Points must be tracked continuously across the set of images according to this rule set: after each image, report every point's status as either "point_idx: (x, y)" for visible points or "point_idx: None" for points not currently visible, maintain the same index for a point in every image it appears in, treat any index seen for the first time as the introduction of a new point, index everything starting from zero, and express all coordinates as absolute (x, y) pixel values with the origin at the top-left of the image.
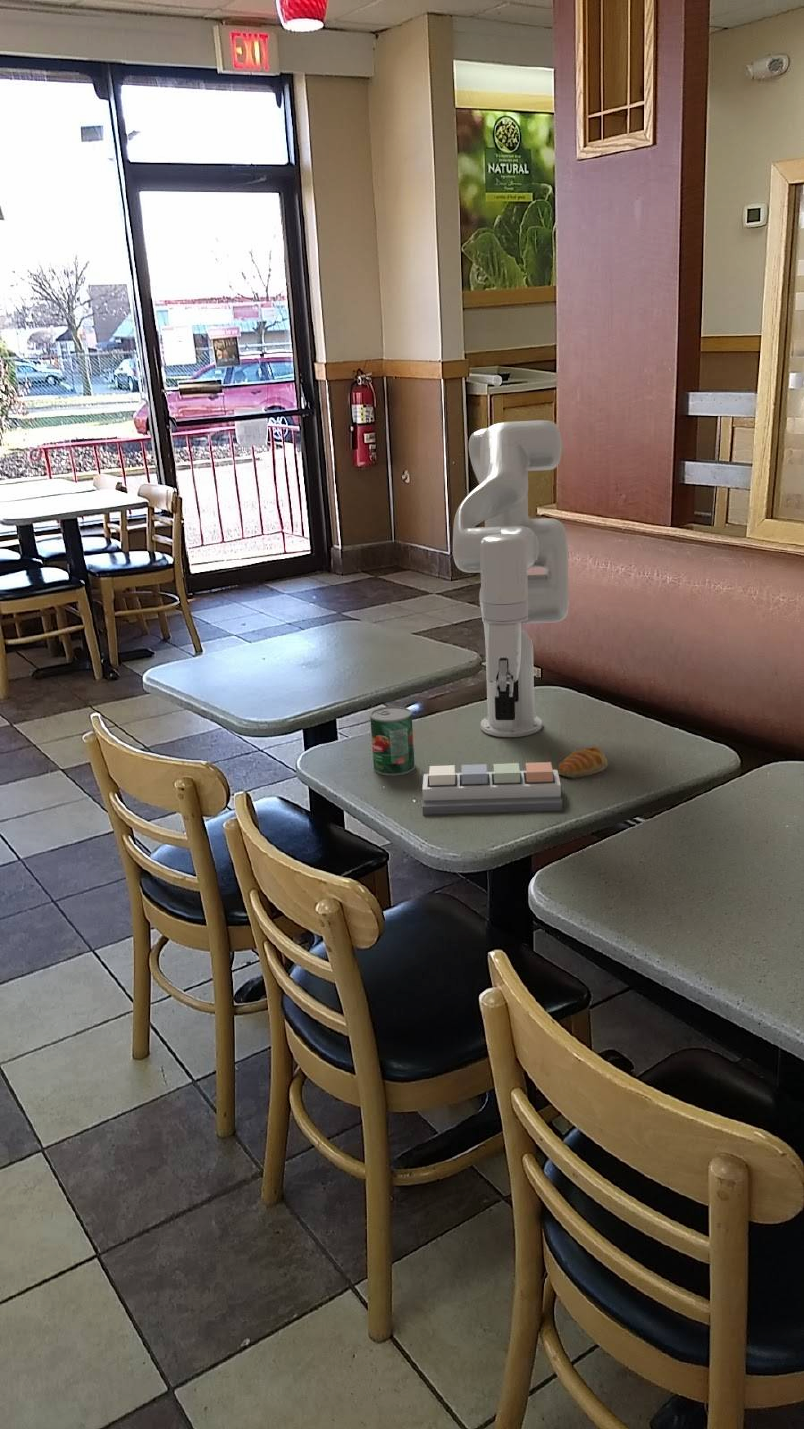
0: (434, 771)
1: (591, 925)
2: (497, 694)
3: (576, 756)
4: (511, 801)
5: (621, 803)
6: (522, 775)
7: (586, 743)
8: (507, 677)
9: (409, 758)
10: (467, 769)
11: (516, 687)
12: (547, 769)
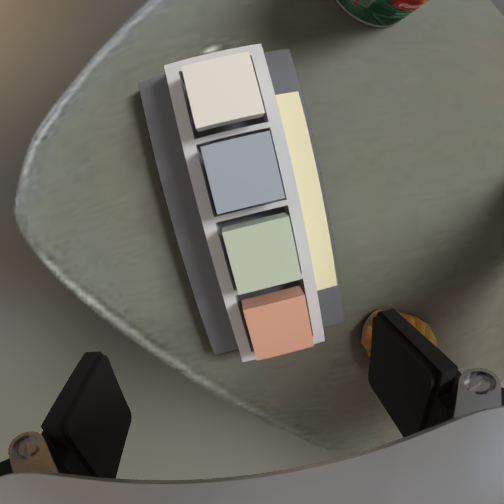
0: (212, 71)
1: None
2: (14, 453)
3: None
4: (197, 264)
5: (261, 415)
6: None
7: (483, 316)
8: (440, 421)
9: (369, 9)
10: (239, 153)
11: (398, 421)
12: (267, 348)
